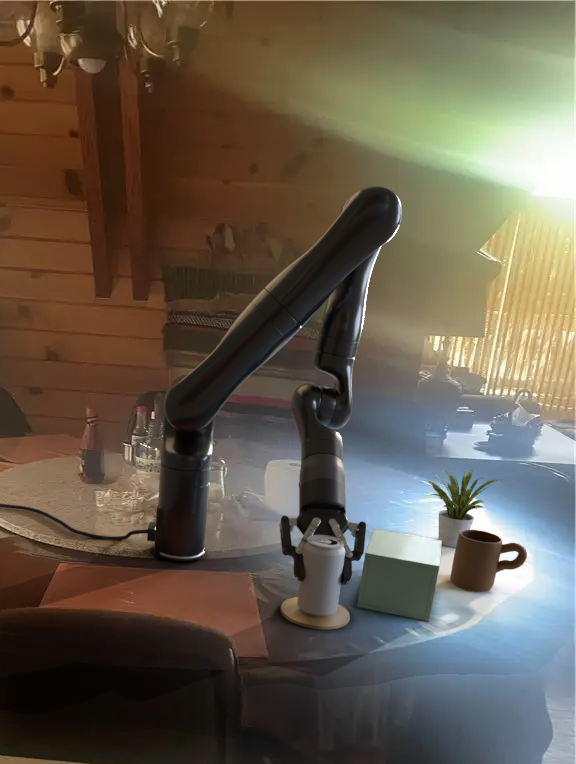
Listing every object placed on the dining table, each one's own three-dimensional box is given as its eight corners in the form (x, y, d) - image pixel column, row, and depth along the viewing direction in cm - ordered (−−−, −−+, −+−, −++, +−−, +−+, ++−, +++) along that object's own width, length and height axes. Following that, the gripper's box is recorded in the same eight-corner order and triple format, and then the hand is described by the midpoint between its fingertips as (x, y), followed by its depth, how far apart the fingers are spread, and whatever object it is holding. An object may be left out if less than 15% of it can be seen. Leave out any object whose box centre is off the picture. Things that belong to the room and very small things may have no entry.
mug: (517, 585, 140) (527, 537, 137) (520, 600, 133) (531, 550, 130) (449, 573, 143) (458, 526, 140) (449, 587, 136) (458, 538, 133)
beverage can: (336, 621, 118) (346, 550, 114) (295, 615, 119) (303, 544, 115) (337, 604, 124) (346, 536, 120) (297, 599, 125) (306, 530, 121)
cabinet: (366, 578, 138) (374, 528, 135) (432, 591, 134) (441, 540, 131) (356, 606, 125) (365, 552, 122) (429, 621, 122) (439, 566, 119)
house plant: (475, 533, 168) (490, 462, 163) (502, 556, 155) (518, 479, 150) (412, 529, 167) (425, 458, 162) (433, 552, 154) (448, 474, 149)
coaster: (283, 626, 116) (283, 623, 116) (278, 597, 127) (278, 593, 126) (354, 632, 116) (355, 629, 116) (343, 602, 126) (344, 599, 126)
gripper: (281, 473, 122) (279, 568, 115) (370, 479, 122) (374, 575, 114) (276, 495, 129) (274, 586, 121) (360, 501, 129) (363, 593, 121)
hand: (322, 580), depth 118 cm, fingers closed on beverage can, 6 cm apart
